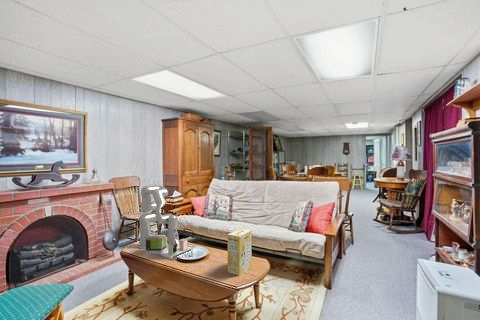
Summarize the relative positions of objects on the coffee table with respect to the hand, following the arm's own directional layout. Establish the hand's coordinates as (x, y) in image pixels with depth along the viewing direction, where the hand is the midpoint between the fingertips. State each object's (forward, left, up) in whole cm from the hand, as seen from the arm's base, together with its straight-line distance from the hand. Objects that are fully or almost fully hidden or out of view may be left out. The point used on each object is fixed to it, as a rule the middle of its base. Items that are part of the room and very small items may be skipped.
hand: (172, 251), depth 198 cm
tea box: (-20, -2, -5) cm, 21 cm away
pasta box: (+60, +15, -5) cm, 62 cm away
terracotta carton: (-1, +13, -3) cm, 13 cm away
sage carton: (0, 0, -2) cm, 2 cm away
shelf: (-3, +6, -5) cm, 8 cm away
